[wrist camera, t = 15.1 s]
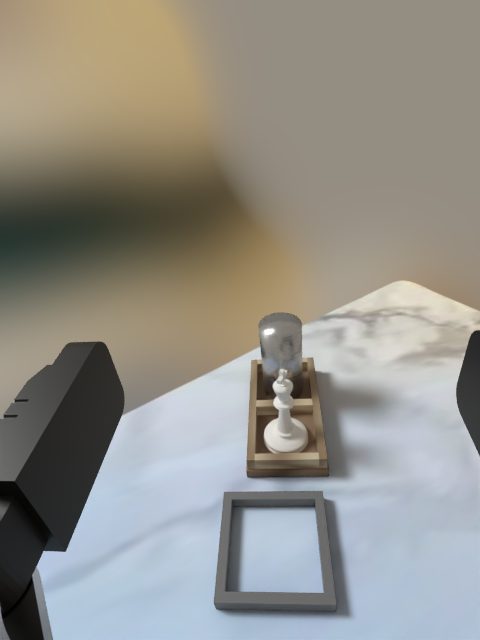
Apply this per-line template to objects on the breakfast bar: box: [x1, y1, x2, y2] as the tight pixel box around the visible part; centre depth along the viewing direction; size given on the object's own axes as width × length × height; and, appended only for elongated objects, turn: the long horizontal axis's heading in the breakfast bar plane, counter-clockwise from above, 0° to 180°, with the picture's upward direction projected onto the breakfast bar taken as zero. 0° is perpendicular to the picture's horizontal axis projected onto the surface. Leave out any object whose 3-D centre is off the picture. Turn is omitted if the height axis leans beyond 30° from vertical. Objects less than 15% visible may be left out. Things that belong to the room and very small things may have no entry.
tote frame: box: [214, 491, 336, 611], centre depth 36 cm, size 10×10×1 cm
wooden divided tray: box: [247, 358, 329, 477], centre depth 48 cm, size 8×16×2 cm, turn 177°
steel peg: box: [259, 313, 303, 400], centre depth 49 cm, size 5×5×10 cm
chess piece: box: [264, 369, 308, 453], centre depth 42 cm, size 5×5×10 cm
